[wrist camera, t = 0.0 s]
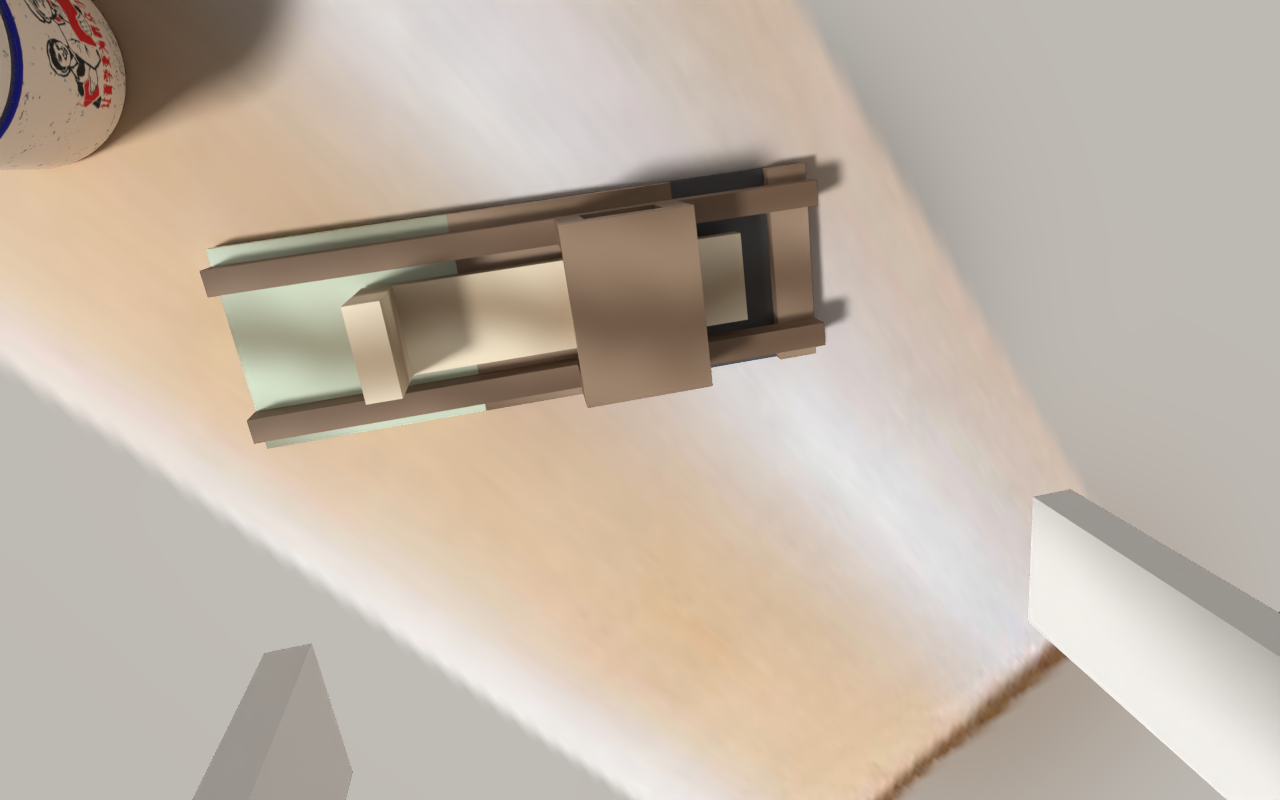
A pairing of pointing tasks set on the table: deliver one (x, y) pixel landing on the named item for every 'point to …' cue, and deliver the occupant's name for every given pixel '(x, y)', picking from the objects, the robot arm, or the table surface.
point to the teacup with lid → (56, 82)
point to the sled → (496, 316)
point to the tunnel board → (516, 234)
